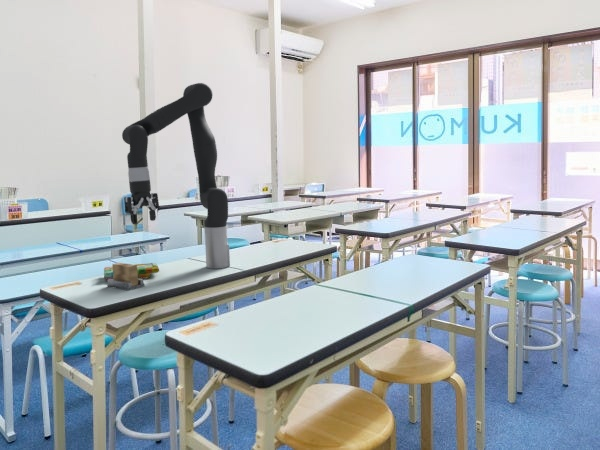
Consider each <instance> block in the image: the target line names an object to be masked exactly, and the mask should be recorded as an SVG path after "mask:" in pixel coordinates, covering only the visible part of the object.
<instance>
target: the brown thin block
mask: <svg viewBox="0 0 600 450" xmlns="http://www.w3.org/2000/svg"><path fill="white" fill-rule="evenodd" d="M111 267H113V279H115V280H120V281H126V282H131V283H132V286H134V285H137V284H138V273H137V265H136V264H130V263H123V262H117V263H112V266H111Z"/></svg>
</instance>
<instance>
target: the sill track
mask: <svg viewBox="0 0 600 450" xmlns="http://www.w3.org/2000/svg"><path fill="white" fill-rule="evenodd" d="M106 286H108V288H114V289H119V290H124V291H128V292H129V291H132V290H137V289H138V288H143V287H145V283H144V278H142V279H138V284H137V285H134V286H132V283H131V282H126V281H120V280H115V279H108V281H107V285H106Z"/></svg>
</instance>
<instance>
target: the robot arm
mask: <svg viewBox="0 0 600 450" xmlns="http://www.w3.org/2000/svg"><path fill="white" fill-rule="evenodd" d="M212 100H213V90H212V88H211V87H210V85H208V84H206V83H205V82H197V83H193V84H189V85H188V86H186V87H185V89H183V96H182V97H180V98H178V99H176V100H174V101H173V102H170V103H167V104H166V105H164V106H162V107H160V108H158V109H156V110H155V111H154V110H153V112H151V113H150V114H148V115H147V116H145V117H143V118H142V119H140V120H138V121H136V122H133V123H131V124H130V125H128V126H126V127H125V128H124V129H123V130H122V135H121V136H122V140H123V142H124V143H126V144H128V145H129V152H128V153H127V156H126V160H127V167H128V168H127V169H128V172H127V176H128V182H129V192H130V194H131V196H124V203H123V204H124V213H125V214H129V215H130V222H131V224H132V225H138V216H137V215H138V214H137V212H138V210H139V209H140V208H142V207H147V209H148V210H149V220H150V221H151V222H153V221H156V219H157V215H156V210H158V209H159V208H160V202H159V195H158V193H157V192H151V191H152V186H151V177H150V176H151V175H150V171H149V166H148V165H149V164H148V157H147V156H148V154H147V153H148V144H149V143H148V142H149V136H151V135H154V134H156V133H159V132H160V131H162V130H164V129H165V128H166V127H168V126H169V125H171V124H173V123H174V122H176V121H177V120H178V119H180V118H182V117H183V116H185V115H187V117H188V121H189V122H188V123H189V127H190V135H191V140H192V141H191V142H192V148H193V155H194V158H195V164H196V165H195V166H196V170H197V176H198V189H199V200H200V204H201V206H202V207H203V208H204V209H206V210H207V215H206V217H205V219H204V222H203V229H204V243H205V244H204V245H205V248H204V249H205V264H206V268H207V269H224V268H228V267H230V266H231V260H230V259H231V257H230V256H231V255H230V244H229V243H228V228H227V227H228V226H227V224H228V223H227V222H228V220H229V199H228V195H227V193H226V192H225V190H224V189H222V188H220V187H217V183H216V173H215V172H216V166H217V161H218V151H217V150H218V149H217V144H216V139H215V135H214V134H213V131H212V130H211V128H210V126H209V125H208V123H207V120H206V116H205V115H206V114H205V107H206V106H207V105H209V104H210V103H211V101H212Z"/></svg>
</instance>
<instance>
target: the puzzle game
mask: <svg viewBox="0 0 600 450" xmlns="http://www.w3.org/2000/svg"><path fill="white" fill-rule="evenodd" d="M135 265H137V273H138V279H149V278H150V277H151V274H157V273H158V272H160V268H159V266H158V265H157V263H156V262H151V263H149V262H148V263H138V264H137V263H136V264H135ZM103 275H104V279H105V280H106V281H107V282H108V279H113V266H105V267H104V268H103Z"/></svg>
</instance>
